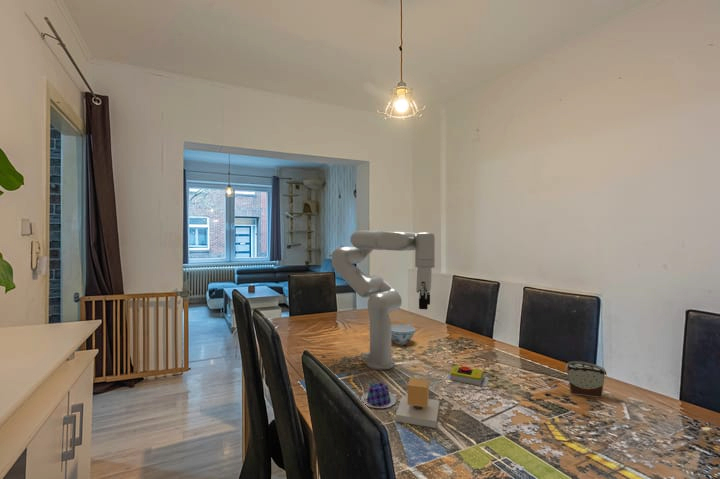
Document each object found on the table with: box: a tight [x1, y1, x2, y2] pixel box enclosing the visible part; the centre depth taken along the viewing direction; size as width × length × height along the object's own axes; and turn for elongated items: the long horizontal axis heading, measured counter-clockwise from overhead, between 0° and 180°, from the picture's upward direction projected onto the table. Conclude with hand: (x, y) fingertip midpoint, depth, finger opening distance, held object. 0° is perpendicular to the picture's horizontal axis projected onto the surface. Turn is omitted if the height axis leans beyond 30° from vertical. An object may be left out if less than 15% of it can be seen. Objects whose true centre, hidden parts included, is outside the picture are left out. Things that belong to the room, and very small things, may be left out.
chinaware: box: [391, 324, 416, 345], centre depth 175 cm, size 15×15×8 cm
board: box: [395, 394, 440, 429], centre depth 103 cm, size 12×13×9 cm
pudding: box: [360, 382, 397, 409], centre depth 112 cm, size 12×12×5 cm
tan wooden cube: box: [407, 377, 430, 407], centre depth 103 cm, size 6×6×6 cm
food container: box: [565, 360, 607, 399], centre depth 118 cm, size 12×6×10 cm, turn 71°
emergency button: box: [446, 365, 490, 387], centre depth 130 cm, size 9×4×15 cm
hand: (424, 306), depth 130 cm, fingers open, 9 cm apart
